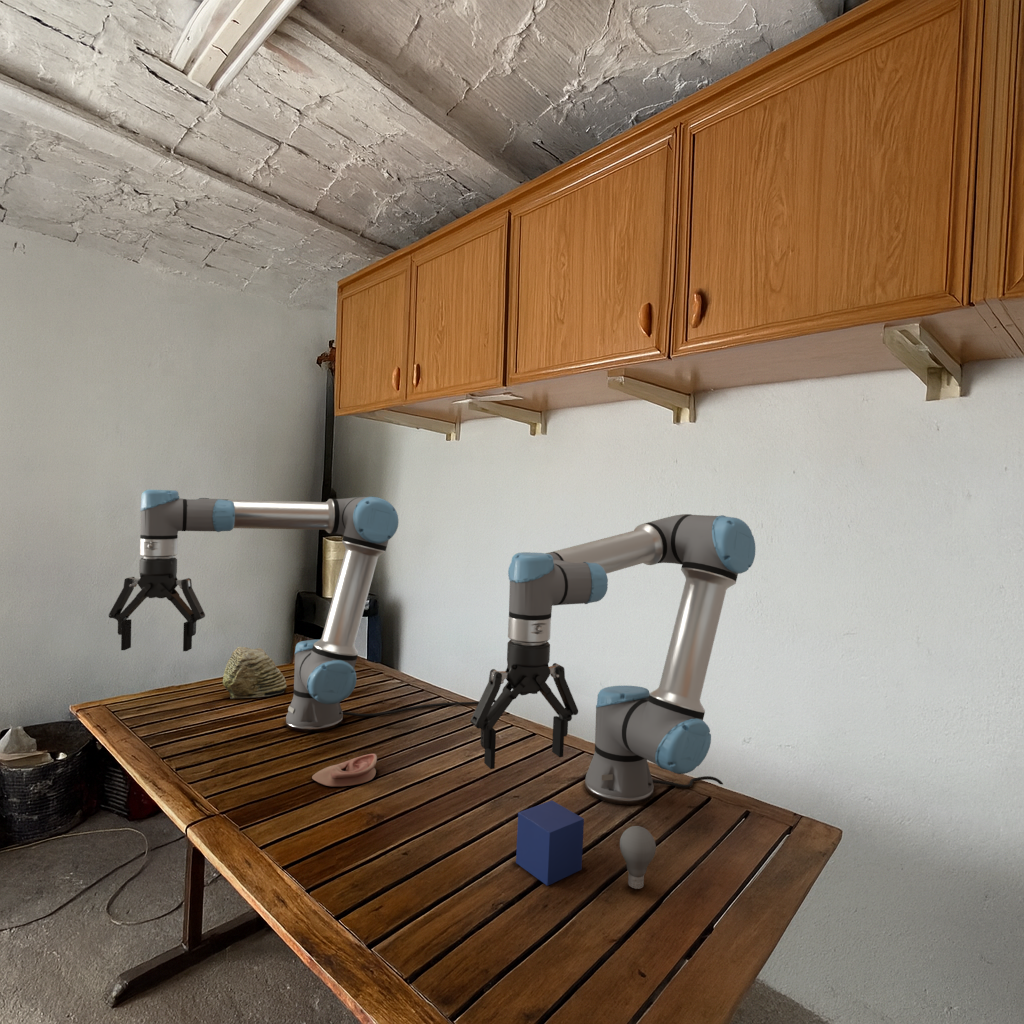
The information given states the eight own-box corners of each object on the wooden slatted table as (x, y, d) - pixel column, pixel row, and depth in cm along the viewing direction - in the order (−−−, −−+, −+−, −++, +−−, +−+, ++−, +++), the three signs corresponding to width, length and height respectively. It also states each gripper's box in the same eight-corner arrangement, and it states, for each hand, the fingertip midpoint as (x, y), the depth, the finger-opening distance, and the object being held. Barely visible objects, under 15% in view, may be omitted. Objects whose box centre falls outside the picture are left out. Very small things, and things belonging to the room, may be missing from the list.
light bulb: (613, 876, 109) (616, 819, 109) (647, 876, 110) (650, 819, 110) (622, 898, 103) (625, 837, 103) (658, 897, 104) (661, 837, 104)
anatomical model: (305, 765, 139) (330, 745, 150) (304, 783, 139) (330, 762, 151) (361, 773, 137) (383, 752, 148) (360, 791, 137) (382, 769, 148)
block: (515, 862, 113) (518, 812, 112) (549, 848, 118) (551, 800, 118) (547, 886, 106) (549, 832, 106) (581, 869, 111) (584, 818, 111)
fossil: (218, 695, 195) (220, 647, 195) (278, 685, 208) (279, 640, 207) (228, 703, 189) (230, 653, 188) (289, 692, 201) (290, 645, 201)
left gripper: (92, 557, 140) (90, 652, 141) (208, 560, 142) (206, 654, 142) (111, 554, 148) (109, 644, 148) (221, 557, 149) (219, 646, 150)
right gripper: (471, 650, 103) (467, 780, 103) (600, 640, 114) (595, 757, 114) (455, 640, 109) (450, 762, 110) (577, 631, 120) (573, 742, 121)
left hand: (156, 649), depth 145 cm, fingers open, 13 cm apart
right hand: (524, 760), depth 112 cm, fingers open, 13 cm apart
